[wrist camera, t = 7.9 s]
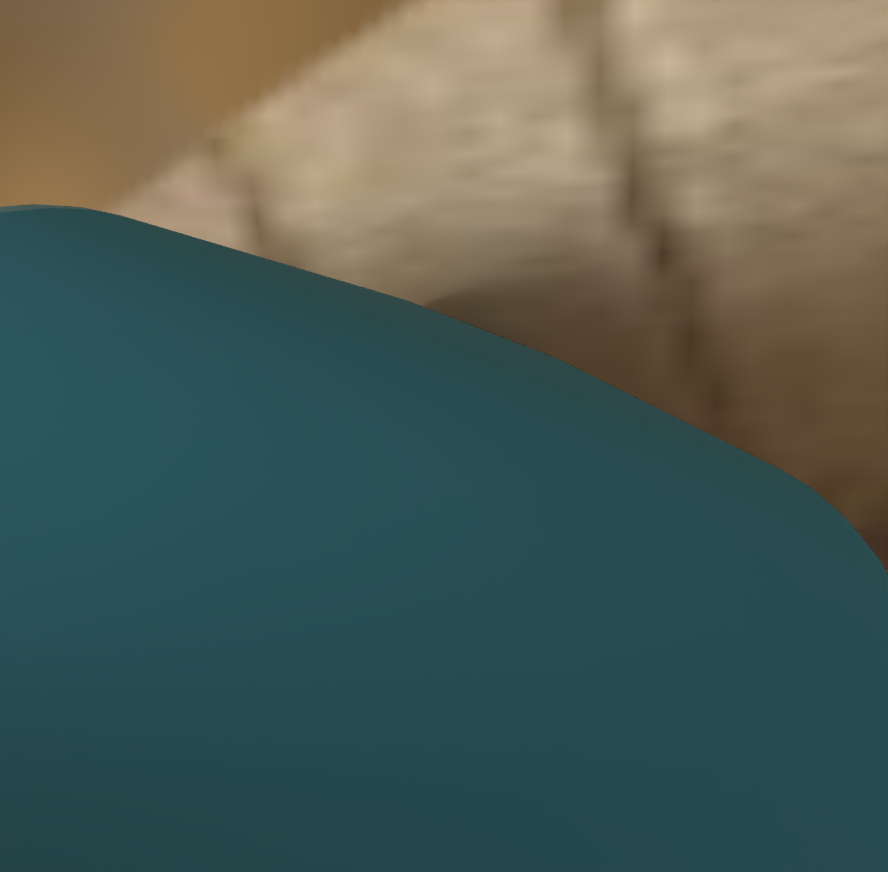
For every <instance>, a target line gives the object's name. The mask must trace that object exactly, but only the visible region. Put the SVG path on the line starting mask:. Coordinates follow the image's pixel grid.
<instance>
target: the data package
mask: <svg viewBox="0 0 888 872" xmlns="http://www.w3.org/2000/svg"><path fill="white" fill-rule="evenodd" d="M0 872H888V573H887V571H886V570H885V568H884V566H883V565H882V563H881V561H880V560H879V558H878V557H877V556H876V554H875V553H874V552H873V551H872V549H871V548H870V547H869V546H868V545H867V543H866V542H865V541H864V540H863V538H862V537H861V536H860V535H859V533H858V532H857V531H856V530H855V529H854V527H853V526H852V525H851V524H850V522H849V521H848V520H847V519H846V518H845V517H844V516H843V515H842V514H841V513H839V512H838V511H837V510H836V509H835V508H834V507H833V506H832V505H830V504H829V503H828V502H827V501H826V500H825V499H824V498H823V497H822V496H820V495H819V494H818V493H817V492H816V491H815V490H814V489H812V488H810V487H809V486H807V485H806V484H804V483H802V482H801V481H799V480H798V479H796V478H794V477H793V476H791V475H790V474H788V473H786V472H785V471H783V470H781V469H779V468H777V467H775V466H773V465H771V464H769V463H767V462H765V461H763V460H761V459H759V458H757V457H755V456H753V455H751V454H749V453H747V452H745V451H743V450H741V449H739V448H737V447H735V446H733V445H731V444H729V443H727V442H725V441H723V440H721V439H719V438H717V437H715V436H713V435H711V434H709V433H707V432H705V431H703V430H701V429H699V428H697V427H695V426H693V425H691V424H688V423H686V422H684V421H682V420H680V419H678V418H676V417H674V416H672V415H670V414H668V413H666V412H664V411H662V410H660V409H658V408H656V407H654V406H652V405H650V404H648V403H646V402H644V401H642V400H640V399H638V398H636V397H634V396H632V395H630V394H628V393H626V392H624V391H622V390H620V389H618V388H616V387H614V386H612V385H610V384H608V383H606V382H604V381H602V380H600V379H598V378H596V377H594V376H592V375H590V374H588V373H586V372H584V371H581V370H579V369H577V368H575V367H573V366H571V365H569V364H567V363H565V362H563V361H561V360H559V359H557V358H555V357H552V356H550V355H547V354H544V353H542V352H539V351H537V350H534V349H531V348H529V347H526V346H524V345H521V344H518V343H516V342H513V341H511V340H508V339H505V338H503V337H500V336H498V335H495V334H492V333H490V332H487V331H485V330H482V329H479V328H477V327H474V326H472V325H469V324H466V323H464V322H461V321H459V320H456V319H453V318H451V317H448V316H445V315H443V314H440V313H438V312H435V311H432V310H430V309H427V308H425V307H422V306H419V305H417V304H414V303H412V302H409V301H406V300H403V299H400V298H396V297H393V296H390V295H386V294H383V293H380V292H376V291H373V290H370V289H366V288H363V287H359V286H356V285H353V284H349V283H346V282H343V281H339V280H336V279H333V278H329V277H326V276H322V275H319V274H316V273H312V272H309V271H306V270H302V269H299V268H296V267H292V266H289V265H285V264H282V263H279V262H275V261H272V260H269V259H265V258H262V257H259V256H255V255H252V254H248V253H245V252H242V251H238V250H235V249H232V248H228V247H225V246H221V245H218V244H215V243H211V242H208V241H205V240H201V239H198V238H195V237H191V236H188V235H184V234H181V233H178V232H174V231H171V230H168V229H164V228H161V227H158V226H154V225H151V224H147V223H144V222H141V221H137V220H134V219H131V218H127V217H124V216H121V215H116V214H111V213H107V212H102V211H97V210H92V209H87V208H82V207H71V206H54V205H36V204H33V205H18V206H6V207H0Z"/></svg>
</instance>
